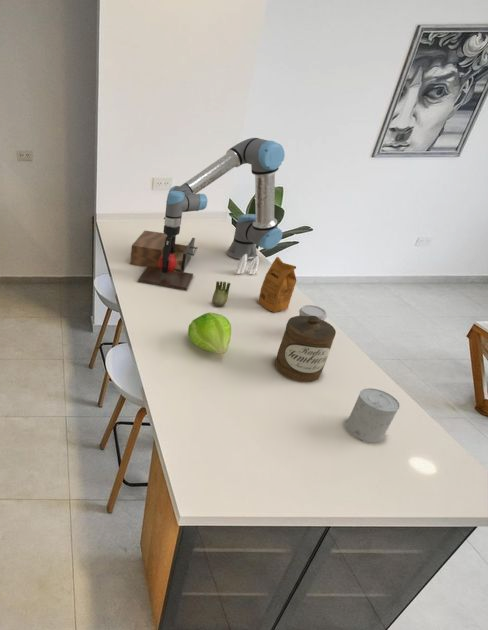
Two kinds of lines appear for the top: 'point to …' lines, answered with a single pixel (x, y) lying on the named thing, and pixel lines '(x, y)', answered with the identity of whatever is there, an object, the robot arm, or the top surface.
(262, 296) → the coffee package
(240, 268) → the shaker set
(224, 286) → the fennel bulb
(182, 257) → the drawer
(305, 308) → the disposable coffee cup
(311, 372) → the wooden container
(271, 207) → the robot arm
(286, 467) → the top surface
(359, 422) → the grey metal can
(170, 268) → the apple
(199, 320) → the lettuce
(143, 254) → the cabinet
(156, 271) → the board
